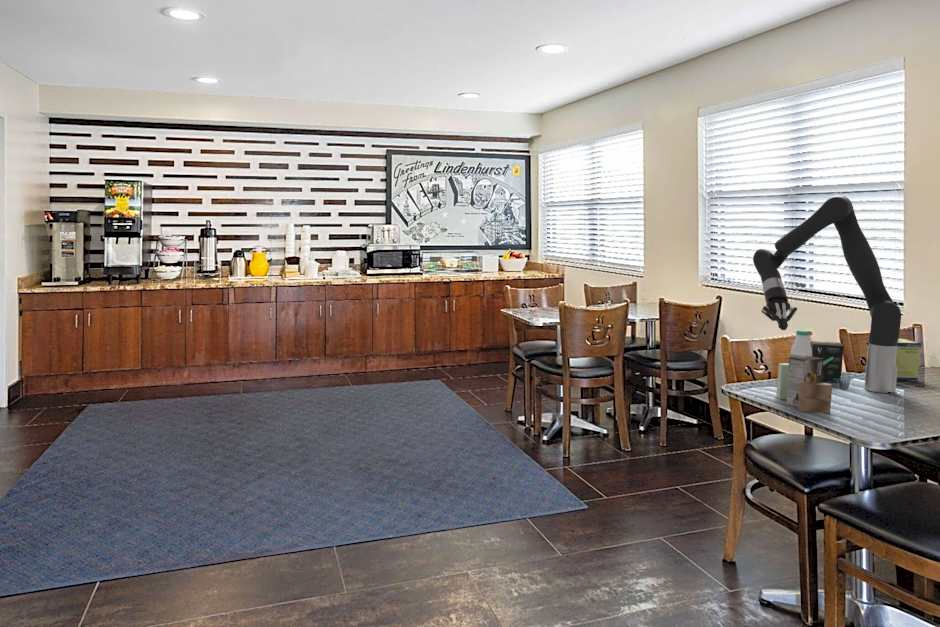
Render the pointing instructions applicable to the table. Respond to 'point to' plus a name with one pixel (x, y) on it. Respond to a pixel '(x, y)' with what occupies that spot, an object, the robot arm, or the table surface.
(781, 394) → the bookend
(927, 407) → the table surface
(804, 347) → the milk bottle
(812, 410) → the end block
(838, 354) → the tampon box
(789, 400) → the coffee box
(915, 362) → the protein box
